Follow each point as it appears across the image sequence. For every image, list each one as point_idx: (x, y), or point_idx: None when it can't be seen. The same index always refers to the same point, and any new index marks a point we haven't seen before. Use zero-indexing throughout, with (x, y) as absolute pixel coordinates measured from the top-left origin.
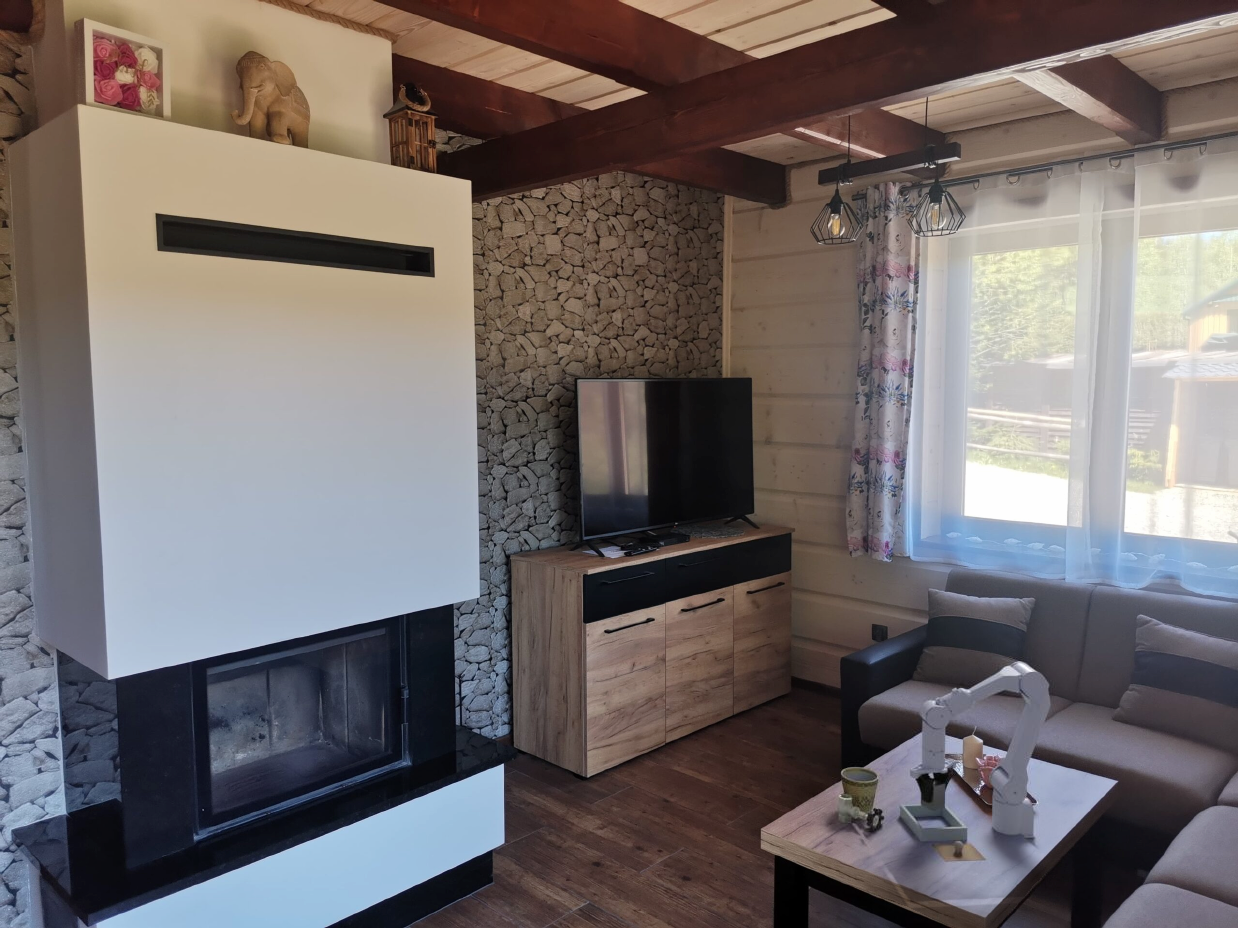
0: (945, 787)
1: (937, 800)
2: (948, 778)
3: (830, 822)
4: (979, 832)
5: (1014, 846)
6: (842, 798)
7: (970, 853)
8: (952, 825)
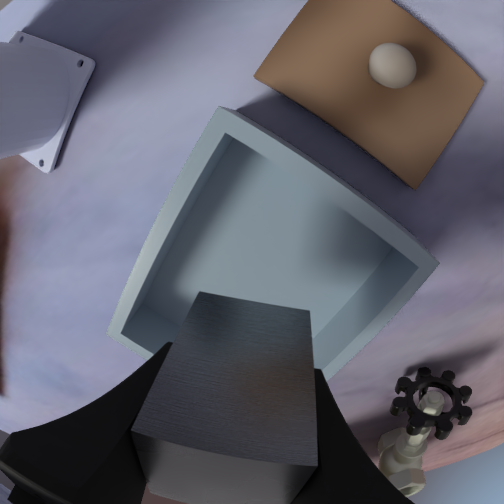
0: (130, 392)
1: (265, 347)
2: (73, 450)
3: (428, 439)
4: (109, 144)
5: (106, 4)
6: (423, 486)
7: (347, 28)
8: (179, 228)
